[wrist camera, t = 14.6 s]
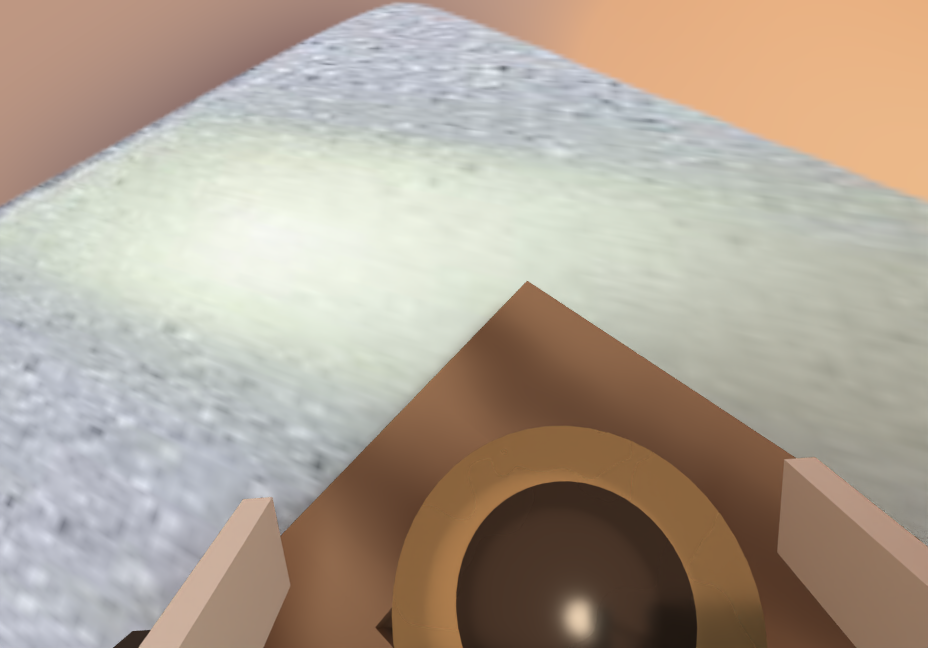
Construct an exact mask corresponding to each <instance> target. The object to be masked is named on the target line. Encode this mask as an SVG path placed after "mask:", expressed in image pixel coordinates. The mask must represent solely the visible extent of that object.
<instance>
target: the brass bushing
mask: <svg viewBox="0 0 928 648" xmlns="http://www.w3.org/2000/svg"><path fill="white" fill-rule="evenodd" d="M392 629H393V644H394V648H767V637H766V629H765V621H764V614H763V610H762V606H761V602H760V598H759V593H758V589H757V586H756V583H755V581H754V578H753V575H752V572H751V570H750V567H749V564H748V562H747V560H746V558H745V556H744V554H743V552H742V549H741V547H740V545H739V543H738V541H737V539H736V537H735V536H734V534H733V533H732V531H731V530H730V528H729V526H728V525H727V523H726V522H725V520H724V519H723V517H722V515H721V514H720V513H719V512H718V510H717V509H716V508H715V507H714V505H713V504H712V503H711V502H710V500H709V499H708V498H707V497H706V495H705V494H704V493H703V492H702V491H701V490H700V489H699V488H698V487H697V486H696V485H695V484H694V483H693V482H692V481H691V480H690V479H689V478H688V477H686V476H685V475H684V474H683V473H682V472H680V471H679V470H678V469H677V468H675V467H674V466H673V465H672V464H671V463H669V462H668V461H666V460H664V459H663V458H661V457H660V456H658V455H657V454H655V453H654V452H652V451H651V450H649V449H647V448H645V447H643V446H641V445H639V444H637V443H635V442H633V441H630V440H628V439H625V438H622V437H619V436H617V435H614V434H611V433H608V432H603V431H599V430H595V429H591V428H583V427H574V426H546V427H539V428H532V429H526V430H522V431H519V432H515V433H512V434H508V435H506V436H503V437H501V438H498V439H496V440H494V441H491V442H489V443H487V444H486V445H484V446H482V447H481V448H479V449H477V450H475V451H474V452H472V453H471V454H469V455H468V456H467V457H465V458H464V459H463V460H461V461H460V462H459V463H458V464H456V465H455V466H454V467H453V468H452V469H451V470H450V471H449V472H448V473H447V474H446V475H445V476H444V477H443V478H442V479H441V480H440V481H439V482H438V484H437V485H436V486H435V488H434V489H433V490H432V491H431V493H430V494H429V495H428V497H427V498H426V499H425V501H424V503H423V504H422V506H421V508H420V510H419V511H418V513H417V515H416V516H415V518H414V520H413V523H412V525H411V527H410V529H409V532H408V534H407V536H406V538H405V541H404V545H403V548H402V551H401V554H400V558H399V561H398V565H397V571H396V576H395V582H394V588H393V603H392Z"/></svg>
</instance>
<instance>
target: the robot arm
mask: <svg viewBox="0 0 928 648" xmlns="http://www.w3.org/2000/svg"><path fill="white" fill-rule="evenodd" d="M777 553H778V554H779V555H780V556H781V557H782V559H783V560H784V561H785V562H786V564H787V565H788V566H789V567H790V568H791V570H792V571H793V572H794V573H795V574H796V576H797V577H798V578H799V579H800V580H801V582H802V583H803V584H804V585H805V586H806V588H807V589H808V590H809V591H810V592H811V594H812V595H813V596H814V597H815V598H816V600H817V601H818V602H819V603H820V604H821V606H822V607H823V608H824V609H825V610H826V612H827V613H828V614H829V615H830V616H831V618H832V619H833V620H834V621H835V623H836V624H837V625H838V626H839V627H840V629H841V630H842V631H843V632H844V633H845V635H846V636H847V637H848V638H849V639H850V641H851V642H852V643H853V644H854V645H855V647H856V648H928V547H927V546H926V545H925V544H923V543H922V542H921V541H920V540H918V539H917V538H916V537H915V536H913V535H912V534H911V533H910V532H908V531H907V530H906V529H904V528H903V527H902V526H901V525H899V524H898V523H897V522H896V521H894V520H893V519H892V518H891V517H889V516H888V515H887V514H886V513H884V512H883V511H882V510H881V509H879V508H878V507H877V506H876V505H874V504H873V503H872V502H871V501H869V500H868V499H867V498H866V497H864V496H863V495H862V494H861V493H859V492H858V491H857V490H856V489H854V488H853V487H852V486H851V485H849V484H848V483H847V482H846V481H844V480H843V479H842V478H841V477H839V476H838V475H837V474H836V473H834V472H833V471H832V470H831V469H829V468H828V467H827V466H826V465H824V464H823V463H822V462H821V461H819V460H818V459H817V458H816V457H810V458H796V459H784V469H783V482H782V495H781V509H780V522H779V535H778V548H777ZM289 588H290V581H289V576H288V571H287V566H286V561H285V557H284V552H283V547H282V542H281V537H280V532H279V527H278V523H277V518H276V513H275V508H274V503H273V498H272V497H268V498H254V499H243V500H242V502H241V503H240V505H239V506H238V508H237V509H236V510H235V512H234V513H233V515H232V516H231V517H230V519H229V520H228V522H227V523H226V525H225V526H224V527H223V529H222V530H221V532H220V533H219V534H218V536H217V537H216V539H215V540H214V542H213V543H212V544H211V546H210V547H209V549H208V550H207V551H206V553H205V554H204V556H203V557H202V558H201V560H200V561H199V563H198V564H197V566H196V567H195V568H194V570H193V571H192V573H191V574H190V575H189V577H188V578H187V580H186V581H185V583H184V584H183V585H182V587H181V588H180V590H179V591H178V592H177V594H176V595H175V597H174V598H173V600H172V601H171V602H170V604H169V605H168V607H167V608H166V609H165V611H164V612H163V614H162V615H161V617H160V618H159V619H158V621H157V622H156V624H155V625H154V626H153V628H152V629H151V630H144V631H132V632H131V633H130V634H129V635H128V636H126V637H125V638H124V639H123V640H122V641H120V642H119V643H118V644H117V645H116V646H115V647H113V648H263V647H264V645H265V643H266V640H267V638H268V636H269V633H270V631H271V629H272V627H273V624H274V622H275V620H276V618H277V615H278V613H279V611H280V608H281V606H282V604H283V602H284V599H285V597H286V595H287V593H288V590H289Z"/></svg>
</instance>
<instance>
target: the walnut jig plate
mask: <svg viewBox="0 0 928 648" xmlns="http://www.w3.org/2000/svg"><path fill="white" fill-rule="evenodd" d="M546 426H574V427H583V428H591V429H595V430H599V431H603V432H608V433H611V434H614V435H617V436H619V437H622V438H625V439H628V440H630V441H633V442H635V443H637V444H639V445H641V446H643V447H645V448H647V449H649V450H651V451H652V452H654V453H655V454H657V455H658V456H660V457H661V458H663V459H664V460H666V461H668V462H669V463H671V464H672V465H673V466H674V467H675V468H677V469H678V470H679V471H680V472H682V473H683V474H684V475H685V476H686V477H688V478H689V479H690V480H691V481H692V482H693V483H694V484H695V485H696V486H697V487H698V488H699V489H700V490H701V491H702V492H703V493H704V494H705V495H706V497H707V498H708V499H709V500H710V502H711V503H712V504H713V505H714V507H715V508H716V509H717V510H718V512H719V513H720V514H721V515H722V517H723V519H724V520H725V522H726V523H727V525H728V526H729V528H730V530H731V531H732V533H733V534H734V536H735V537H736V539H737V541H738V543H739V545H740V547H741V549H742V552H743V554H744V556H745V558H746V560H747V562H748V564H749V567H750V570H751V572H752V575H753V578H754V581H755V583H756V586H757V589H758V593H759V598H760V602H761V606H762V610H763V614H764V621H765V629H766V637H767V648H856V647H855V645H854V644H853V643H852V642H851V641H850V639H849V638H848V637H847V636H846V635H845V633H844V632H843V631H842V630H841V629H840V627H839V626H838V625H837V624H836V623H835V621H834V620H833V619H832V618H831V616H830V615H829V614H828V613H827V612H826V610H825V609H824V608H823V607H822V606H821V604H820V603H819V602H818V601H817V600H816V598H815V597H814V596H813V595H812V594H811V592H810V591H809V590H808V589H807V588H806V586H805V585H804V584H803V583H802V582H801V580H800V579H799V578H798V577H797V576H796V574H795V573H794V572H793V571H792V570H791V568H790V567H789V566H788V565H787V564H786V562H785V561H784V560H783V559H782V557H781V556H780V555H779V554H778V553H777V548H778V535H779V522H780V509H781V495H782V482H783V469H784V459H796V458H795V457H794V456H792V455H791V454H789V453H787V452H786V451H784V450H783V449H781V448H780V447H778V446H777V445H775V444H774V443H772V442H771V441H769V440H768V439H766V438H765V437H763V436H762V435H760V434H759V433H757V432H756V431H754V430H753V429H751V428H750V427H748V426H747V425H745V424H744V423H742V422H740V421H739V420H737V419H736V418H734V417H733V416H731V415H730V414H728V413H727V412H725V411H724V410H722V409H721V408H719V407H718V406H716V405H715V404H713V403H712V402H710V401H709V400H707V399H706V398H704V397H703V396H701V395H700V394H698V393H697V392H695V391H693V390H692V389H690V388H689V387H687V386H686V385H684V384H683V383H681V382H680V381H678V380H677V379H675V378H674V377H672V376H671V375H669V374H668V373H666V372H665V371H663V370H662V369H660V368H659V367H657V366H656V365H654V364H653V363H651V362H650V361H648V360H646V359H645V358H643V357H642V356H640V355H639V354H637V353H636V352H634V351H633V350H631V349H630V348H628V347H627V346H625V345H624V344H622V343H621V342H619V341H618V340H616V339H615V338H613V337H612V336H610V335H609V334H607V333H606V332H604V331H603V330H601V329H600V328H598V327H596V326H595V325H593V324H592V323H590V322H589V321H587V320H586V319H584V318H583V317H581V316H580V315H578V314H577V313H575V312H574V311H572V310H571V309H569V308H568V307H566V306H565V305H563V304H562V303H560V302H559V301H557V300H556V299H554V298H553V297H551V296H549V295H548V294H546V293H545V292H543V291H542V290H540V289H539V288H537V287H536V286H534V285H533V284H531V283H530V282H528V281H527V282H526V283H525V284H524V285H523V286H522V287H521V288H520V289H519V290H518V291H517V292H516V293H515V294H514V295H513V296H512V297H511V298H510V299H509V300H508V301H507V302H506V303H505V304H504V305H503V306H502V307H501V308H500V310H499V311H498V312H497V313H496V314H495V315H494V316H493V317H492V318H491V319H490V320H489V321H488V322H487V323H486V324H485V325H484V326H483V327H482V328H481V329H480V330H479V331H478V332H477V333H476V334H475V335H474V336H473V337H472V338H471V340H470V341H469V342H468V343H467V344H466V345H465V346H464V347H463V348H462V349H461V350H460V351H459V352H458V353H457V354H456V355H455V356H454V357H453V358H452V359H451V360H450V361H449V362H448V363H447V364H446V365H445V366H444V367H443V368H442V370H441V371H440V372H439V373H438V374H437V375H436V376H435V377H434V378H433V379H432V380H431V381H430V382H429V383H428V384H427V385H426V386H425V387H424V388H423V389H422V390H421V391H420V392H419V393H418V394H417V395H416V396H415V397H414V398H413V400H412V401H411V402H410V403H409V404H408V405H407V406H406V407H405V408H404V409H403V410H402V411H401V412H400V413H399V414H398V415H397V416H396V417H395V418H394V419H393V420H392V421H391V422H390V423H389V424H388V425H387V426H386V427H385V429H384V430H383V431H382V432H381V433H380V434H379V435H378V436H377V437H376V438H375V439H374V440H373V441H372V442H371V443H370V444H369V445H368V446H367V447H366V448H365V449H364V450H363V451H362V452H361V453H360V454H359V455H358V456H357V457H356V459H355V460H354V461H353V462H352V463H351V464H350V465H349V466H348V467H347V468H346V469H345V470H344V471H343V472H342V473H341V474H340V475H339V476H338V477H337V478H336V479H335V480H334V481H333V482H332V483H331V484H330V485H329V486H328V487H327V489H326V490H325V491H324V492H323V493H322V494H321V495H320V496H319V497H318V498H317V499H316V500H315V501H314V502H313V503H312V504H311V505H310V506H309V507H308V508H307V509H306V510H305V511H304V512H303V513H302V514H301V515H300V516H299V517H298V519H297V520H296V521H295V522H294V523H293V524H292V525H291V526H290V527H289V528H288V529H287V530H286V531H285V532H284V533H283V534H282V535H281V536H280V537H281V542H282V547H283V552H284V557H285V561H286V566H287V571H288V576H289V581H290V588H289V590H288V593H287V595H286V597H285V599H284V602H283V604H282V606H281V608H280V611H279V613H278V615H277V618H276V620H275V622H274V624H273V627H272V629H271V631H270V633H269V636H268V638H267V640H266V643H265V645H264V647H263V648H394V644H393V629H392V603H393V588H394V582H395V576H396V571H397V565H398V561H399V558H400V554H401V551H402V548H403V545H404V541H405V538H406V536H407V534H408V532H409V529H410V527H411V525H412V523H413V520H414V518H415V516H416V515H417V513H418V511H419V510H420V508H421V506H422V504H423V503H424V501H425V499H426V498H427V497H428V495H429V494H430V493H431V491H432V490H433V489H434V488H435V486H436V485H437V484H438V482H439V481H440V480H441V479H442V478H443V477H444V476H445V475H446V474H447V473H448V472H449V471H450V470H451V469H452V468H453V467H454V466H455V465H456V464H458V463H459V462H460V461H461V460H463V459H464V458H465V457H467V456H468V455H469V454H471V453H472V452H474V451H475V450H477V449H479V448H481V447H482V446H484V445H486V444H487V443H489V442H491V441H494V440H496V439H498V438H501V437H503V436H506V435H508V434H512V433H515V432H519V431H522V430H526V429H532V428H539V427H546ZM917 539H918V538H917ZM918 540H919V539H918Z"/></svg>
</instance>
